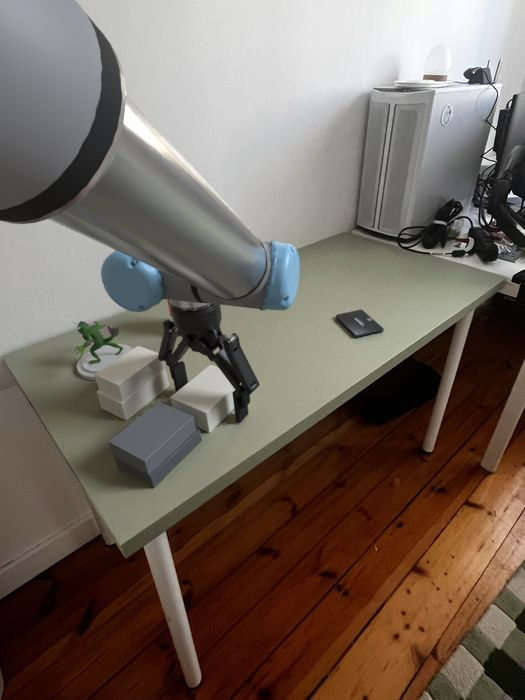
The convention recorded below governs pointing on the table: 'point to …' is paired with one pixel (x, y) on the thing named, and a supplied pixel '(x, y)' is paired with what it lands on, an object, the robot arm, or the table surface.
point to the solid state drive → (359, 323)
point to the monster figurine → (98, 349)
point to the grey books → (155, 443)
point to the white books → (131, 382)
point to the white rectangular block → (206, 398)
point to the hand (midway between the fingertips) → (211, 405)
